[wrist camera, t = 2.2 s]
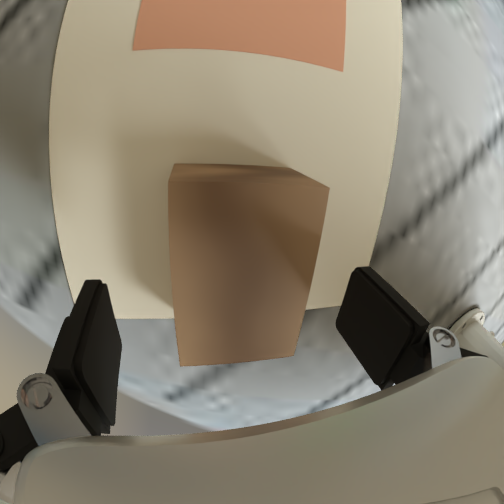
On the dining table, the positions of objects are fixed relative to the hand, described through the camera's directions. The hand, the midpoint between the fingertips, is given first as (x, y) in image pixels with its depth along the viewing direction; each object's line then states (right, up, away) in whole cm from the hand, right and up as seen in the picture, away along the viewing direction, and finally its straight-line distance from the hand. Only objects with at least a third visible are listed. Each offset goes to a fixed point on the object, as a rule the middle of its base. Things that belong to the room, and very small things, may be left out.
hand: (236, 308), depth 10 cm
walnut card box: (-1, +2, +6) cm, 6 cm away
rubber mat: (0, +11, +2) cm, 11 cm away
